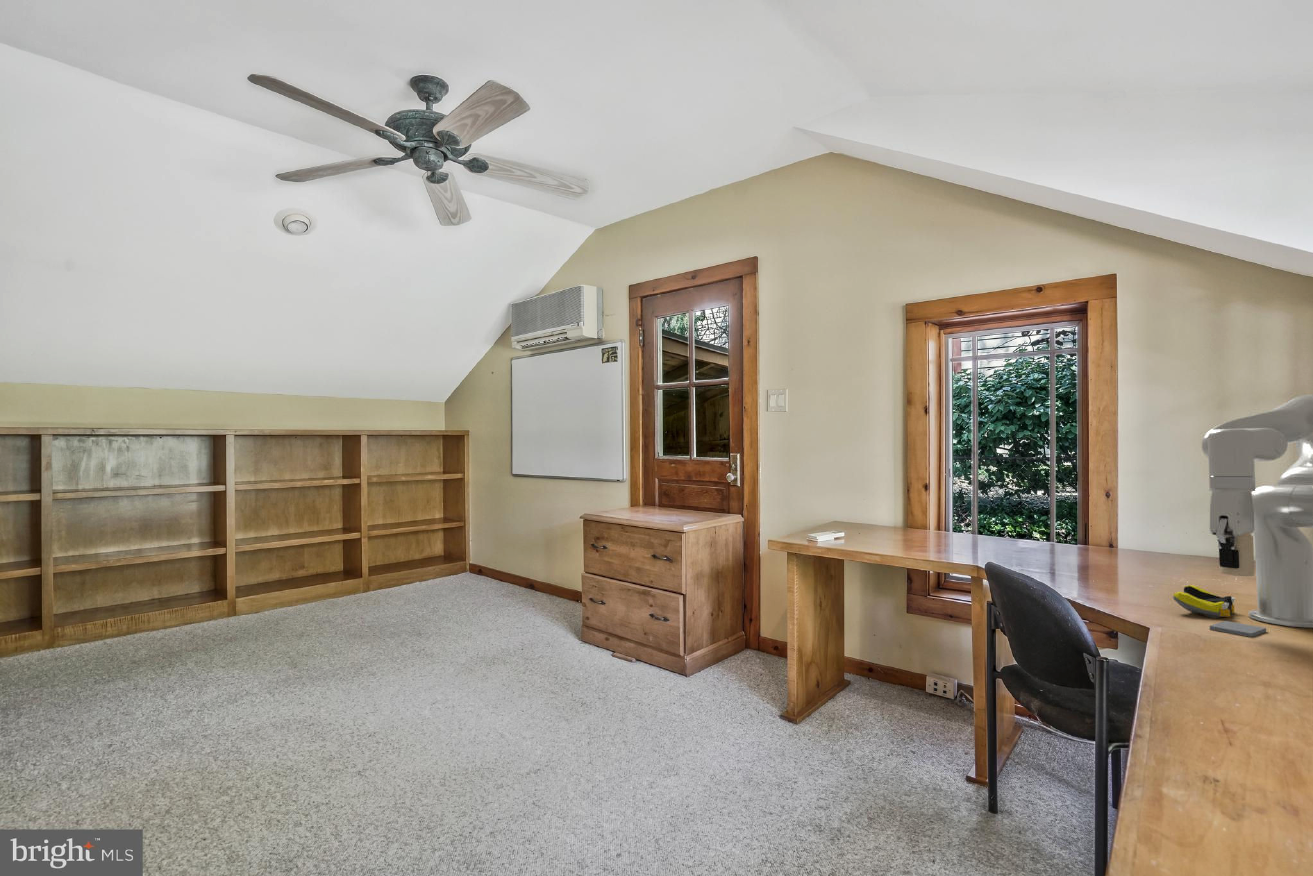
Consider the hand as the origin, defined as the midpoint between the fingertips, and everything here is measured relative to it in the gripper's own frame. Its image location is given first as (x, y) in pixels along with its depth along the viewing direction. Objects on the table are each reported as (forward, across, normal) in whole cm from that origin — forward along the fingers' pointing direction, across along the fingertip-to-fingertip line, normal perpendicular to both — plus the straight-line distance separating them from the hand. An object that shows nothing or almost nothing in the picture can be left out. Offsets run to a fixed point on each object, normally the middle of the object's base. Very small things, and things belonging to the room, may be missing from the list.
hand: (1235, 565), depth 138 cm
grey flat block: (+14, 0, 0) cm, 14 cm away
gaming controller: (+15, -13, -11) cm, 23 cm away
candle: (+2, 0, 0) cm, 2 cm away
